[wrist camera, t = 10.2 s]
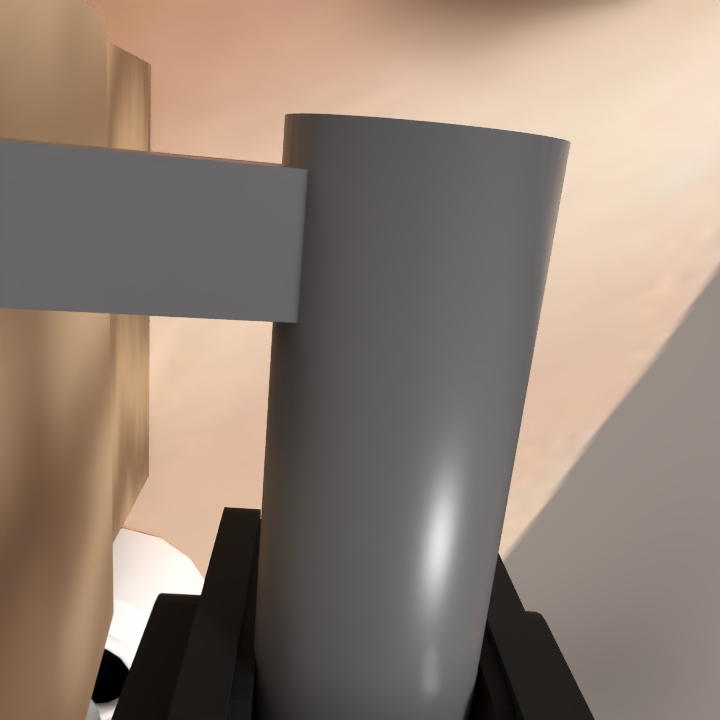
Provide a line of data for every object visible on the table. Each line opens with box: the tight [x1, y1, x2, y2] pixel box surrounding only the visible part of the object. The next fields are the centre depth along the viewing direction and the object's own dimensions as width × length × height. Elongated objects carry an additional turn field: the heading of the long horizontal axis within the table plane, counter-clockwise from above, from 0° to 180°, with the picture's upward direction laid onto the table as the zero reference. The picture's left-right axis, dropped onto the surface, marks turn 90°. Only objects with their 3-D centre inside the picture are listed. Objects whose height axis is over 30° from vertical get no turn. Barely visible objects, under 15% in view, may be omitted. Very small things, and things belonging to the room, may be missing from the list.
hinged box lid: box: [0, 0, 570, 720], centre depth 13 cm, size 18×16×7 cm
